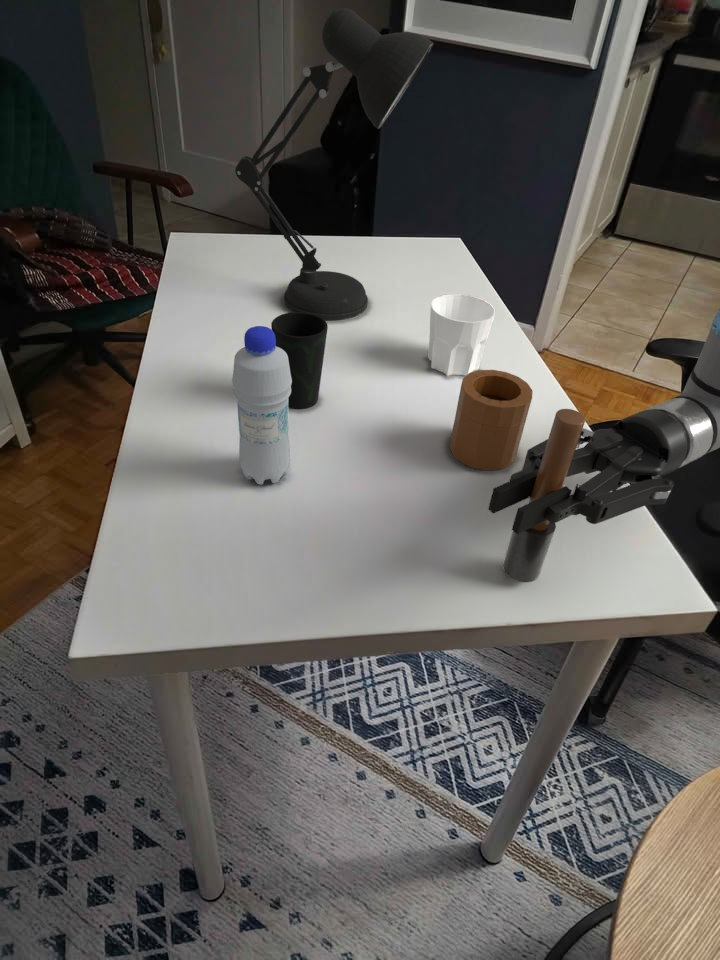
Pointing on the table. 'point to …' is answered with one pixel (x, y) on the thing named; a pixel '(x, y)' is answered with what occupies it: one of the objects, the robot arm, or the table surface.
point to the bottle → (262, 406)
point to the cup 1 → (302, 354)
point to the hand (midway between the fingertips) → (505, 511)
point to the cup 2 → (458, 332)
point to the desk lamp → (381, 84)
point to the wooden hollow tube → (490, 419)
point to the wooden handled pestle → (535, 541)
